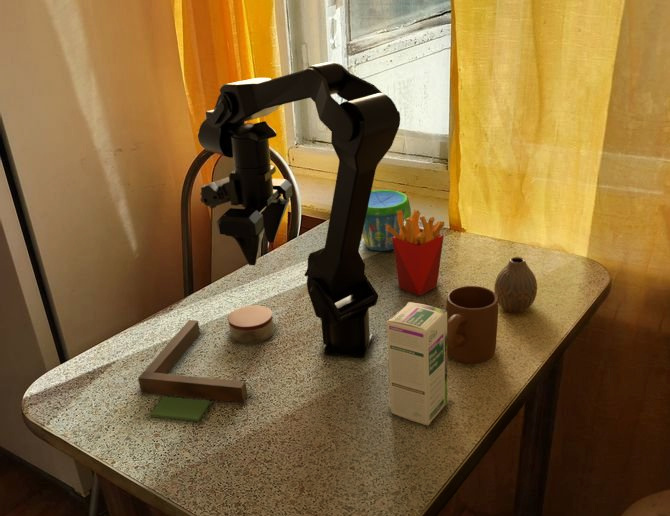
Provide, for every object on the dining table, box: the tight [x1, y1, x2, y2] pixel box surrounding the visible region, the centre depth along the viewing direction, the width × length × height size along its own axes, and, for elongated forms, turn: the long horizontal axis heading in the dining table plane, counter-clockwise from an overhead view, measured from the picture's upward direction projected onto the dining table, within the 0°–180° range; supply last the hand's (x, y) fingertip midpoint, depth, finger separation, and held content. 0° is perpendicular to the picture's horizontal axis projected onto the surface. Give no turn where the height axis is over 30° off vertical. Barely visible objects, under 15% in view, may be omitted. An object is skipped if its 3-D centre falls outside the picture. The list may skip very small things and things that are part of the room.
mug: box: [445, 285, 499, 365], centre depth 98 cm, size 12×8×9 cm, turn 148°
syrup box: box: [386, 301, 448, 427], centre depth 86 cm, size 6×6×14 cm
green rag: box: [150, 396, 211, 422], centre depth 92 cm, size 7×4×1 cm, turn 78°
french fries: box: [385, 209, 445, 296], centre depth 116 cm, size 9×8×15 cm
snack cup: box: [361, 189, 412, 252], centre depth 136 cm, size 16×10×10 cm
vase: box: [493, 256, 538, 314], centre depth 111 cm, size 7×7×9 cm
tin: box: [227, 304, 275, 345], centre depth 109 cm, size 7×7×3 cm
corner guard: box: [137, 319, 248, 403], centre depth 101 cm, size 16×17×2 cm
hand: (262, 253), depth 113 cm, fingers open, 9 cm apart
